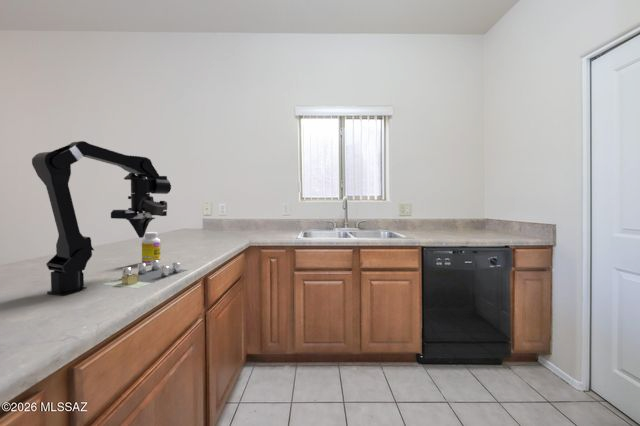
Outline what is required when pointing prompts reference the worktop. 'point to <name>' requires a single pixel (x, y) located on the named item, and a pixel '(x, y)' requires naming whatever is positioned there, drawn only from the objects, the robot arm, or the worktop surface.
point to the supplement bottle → (150, 248)
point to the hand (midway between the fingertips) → (141, 237)
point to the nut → (130, 279)
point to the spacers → (153, 268)
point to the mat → (144, 279)
